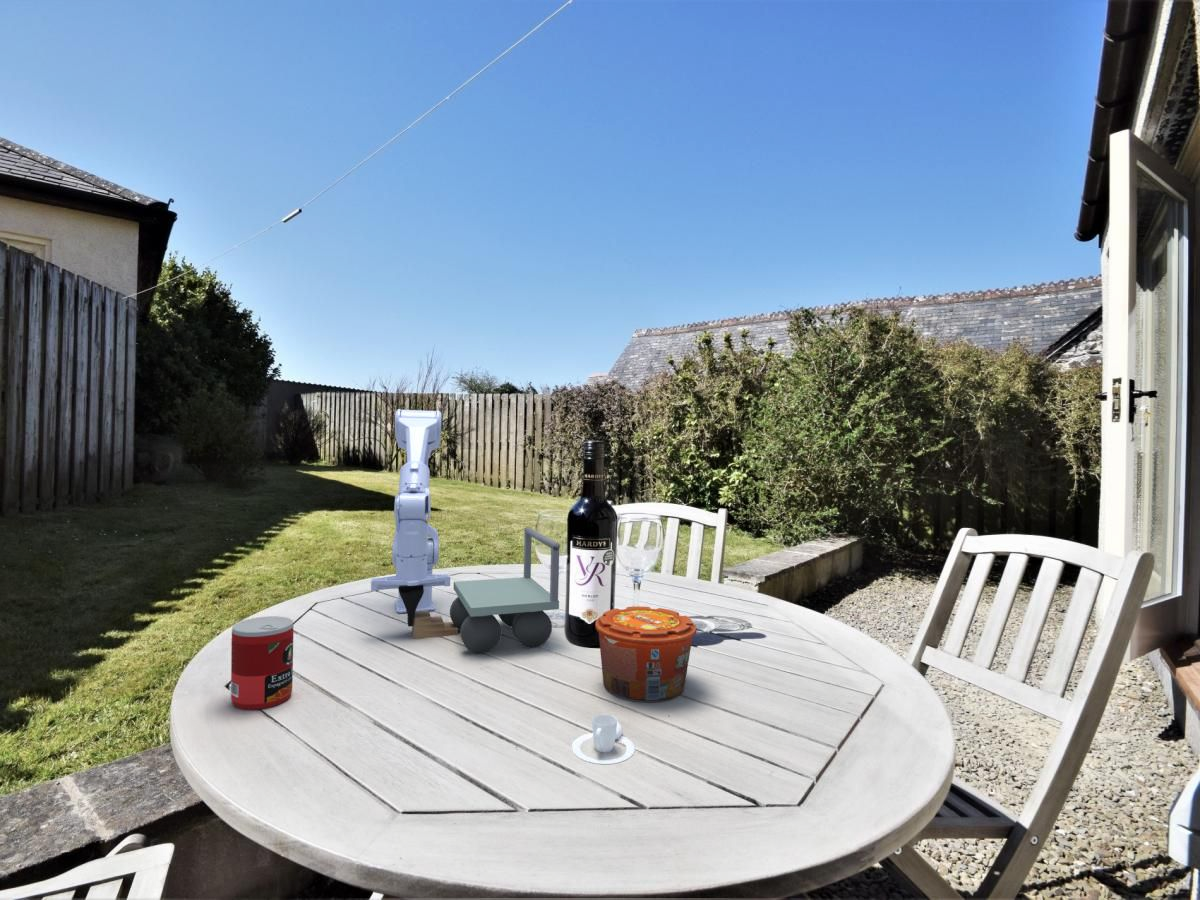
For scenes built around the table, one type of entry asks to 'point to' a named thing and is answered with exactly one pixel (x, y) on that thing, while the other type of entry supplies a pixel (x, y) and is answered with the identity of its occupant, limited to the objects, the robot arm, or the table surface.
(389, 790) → the table surface
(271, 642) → the canned food
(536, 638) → the trolley
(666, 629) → the food container
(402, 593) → the robot arm
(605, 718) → the teacup and saucer
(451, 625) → the block
